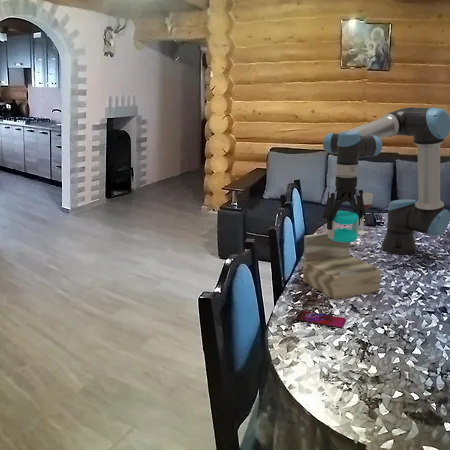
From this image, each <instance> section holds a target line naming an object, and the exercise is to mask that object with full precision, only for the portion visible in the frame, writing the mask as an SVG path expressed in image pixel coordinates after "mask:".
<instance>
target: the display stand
mask: <svg viewBox="0 0 450 450" xmlns="http://www.w3.org/2000/svg"><path fill="white" fill-rule="evenodd" d="M303 241H304V244H303V268H302V269H303V270H302V282H304V283H306V284H307V285H309V286H310V285H311V287H313V288H314V289H316V290H317V291H319V292H321V293H322V294H324V295H325V296H327V297H329V298H331V299H332V300H338V299H343V298H349V297H353V296H358V295H364V294H368V293H369V294H370V293H375V292H378V291H380V287H381V275H382V269H380V268H378V266H376V265H371V264H369V263H367V262H364V261H362V260H360V259H358V258H355V257H354V256H351V255H350V245H351V242H348V243H342V242H336V241H333V240H331V239H330V238H328V232H324V233H315V234H310V235H304V240H303Z"/></svg>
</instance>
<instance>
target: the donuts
mask: <svg viewBox="0 0 450 450" xmlns="http://www.w3.org/2000/svg"><path fill="white" fill-rule="evenodd" d="M357 220H358V215H357V214H356V213H354V212H353V211H349V210H338V212H337V214H336V215H335V217H334V219H333V221H335V224H338V225H348V226H349V225H352V224H353V223H355V222H357ZM330 239H331V238H330ZM357 239H358V236H357V234H356V233H355V232H354V231H353V230H352V229H350V228H340V227H339V228H335V230H334V239H331V240H333V241H336V242H342V243H348V242H350V243H352V242H355V241H356V240H357Z"/></svg>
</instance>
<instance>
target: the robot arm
mask: <svg viewBox="0 0 450 450" xmlns="http://www.w3.org/2000/svg"><path fill="white" fill-rule="evenodd" d="M449 134H450V115H449V113H448V112H447V111H446V110H445V109H443V108H436V107H411V106H410V107H403V108H399V109H397V110H394V111H390V112H388V113H385V114H383V115H382V116H381V117H380V118H378V119H375V120H373V121H371V122H367V123H364V124H361V125H359V126H356V127H353V128H350V129H348V130H345V131H340V132H338V133H335V132H331V133H330V132H329V133H327V134H326V135H325V136H324V138H323V140H322V147H323V150H324V151H325V152H326V153H330V154H333V155H334V154H336V167H335V175H336V176H335V190H334V191H328V192H327V200H326V203H325V205H324V206H325V207H324V210H323V214H322V219H323V220H326V230H327V233H328V238H331V239H334V230H335V229H336V227H335V225H336V223H335V221H333V219H334V217H335V215H336V214H337V212H338V211H340V210H339V209H340V208H341V206H342V205H343V204H344V203H349V206H350V208H351V212H354V213H356V214H357V215H358V220H357V222H355V223H353V224H351V230H353V231H354V232H355V233H356V234H357V237H358V236H359V233H358V230H359V227H360V226H361V219H362V218H363V216H364V217H365V216H366V210H365V208H364V202H363V192H364V190H363V189H360V188H357V187H358V186H357V185H358V173H359V172H358V170H359V159H360V158H361V159H362V158H373V157H375V156H378V155H379V154H380V153H381V151H382V149H383V141H382V138H386V137H387V138H392V137H394V136H395V137H396V136H404V137H405V136H406V137H413V144H414V145H415V146H416V147H417V180H418V182H417V187H418V188H417V189H418V193H417V194H418V195H417V196H418V199H417V200H415V199H396V200H392V201H390V202H389V203H388V209H387V223H386V231H385V235H384V237H383V241H382V242H381V247H380V248H381V250H382V251H383V252H386V253H389V254H395V255H411V254H412V255H413V254H415V253H416V252H417V243H416V241H415V236H414V235H415V234H414V232H416V233H420V234H425V235H428V236H435V237H436V236H437V237H439V236H441V235H442V234H444V232H446V230H447V228H448V227H449V224H450V211H449V210H448V209H445V202H444V201H442V200H441V145H442V144H443V143H444V142H445V139H446V138H447V137H448V136H449ZM356 201H357V204H356Z"/></svg>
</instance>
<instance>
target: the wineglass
mask: <svg viewBox="0 0 450 450" xmlns="http://www.w3.org/2000/svg"><path fill="white" fill-rule="evenodd" d="M373 201H374V193H372V192H365V191H363V202H364V208H365V211H367V210H369V209H370V208H371V207H372V204H373ZM356 204H357V201H356ZM364 218H365V216H363V218H361V229H358V234H362V235H364V234H363V233H367V234H369V233H368V230H366V231H365V230H364Z"/></svg>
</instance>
